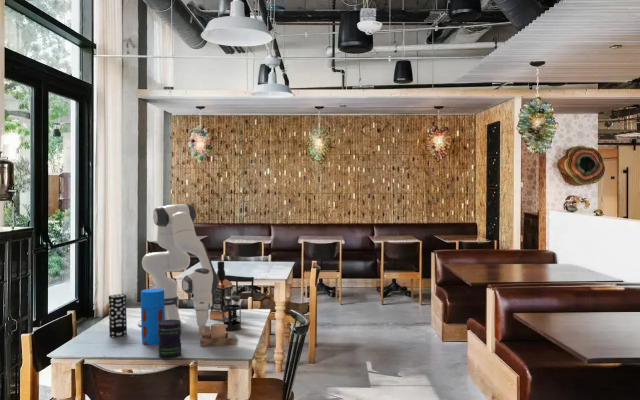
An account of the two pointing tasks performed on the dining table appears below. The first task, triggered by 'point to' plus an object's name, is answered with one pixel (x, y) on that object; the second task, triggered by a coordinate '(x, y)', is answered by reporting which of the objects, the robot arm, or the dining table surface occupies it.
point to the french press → (232, 313)
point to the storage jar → (169, 339)
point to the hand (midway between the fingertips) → (203, 331)
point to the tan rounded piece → (215, 331)
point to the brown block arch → (218, 340)
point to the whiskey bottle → (220, 295)
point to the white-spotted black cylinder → (117, 315)
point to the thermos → (151, 314)
